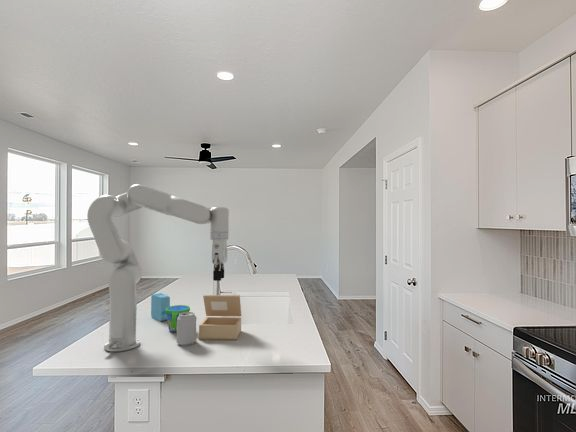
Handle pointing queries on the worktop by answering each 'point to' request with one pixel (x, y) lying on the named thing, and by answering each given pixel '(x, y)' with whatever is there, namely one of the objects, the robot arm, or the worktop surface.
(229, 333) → the box
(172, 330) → the snack cup
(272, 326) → the worktop surface
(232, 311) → the lid
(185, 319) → the can
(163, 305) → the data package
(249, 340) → the worktop surface
